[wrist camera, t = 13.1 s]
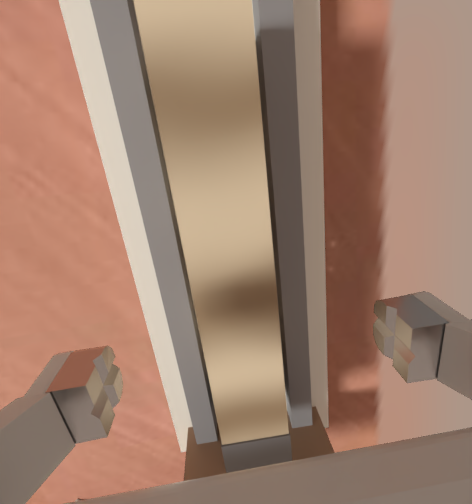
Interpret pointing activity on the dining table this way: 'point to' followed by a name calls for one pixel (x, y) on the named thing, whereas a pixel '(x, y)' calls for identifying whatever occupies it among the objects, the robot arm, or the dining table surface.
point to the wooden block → (222, 211)
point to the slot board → (166, 225)
